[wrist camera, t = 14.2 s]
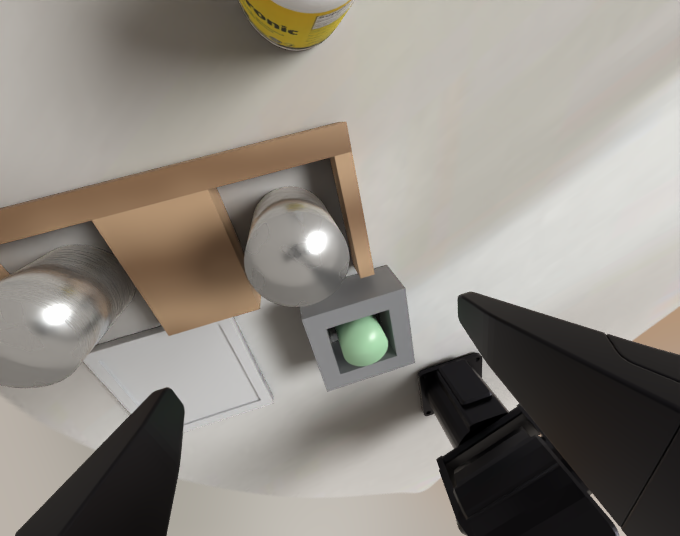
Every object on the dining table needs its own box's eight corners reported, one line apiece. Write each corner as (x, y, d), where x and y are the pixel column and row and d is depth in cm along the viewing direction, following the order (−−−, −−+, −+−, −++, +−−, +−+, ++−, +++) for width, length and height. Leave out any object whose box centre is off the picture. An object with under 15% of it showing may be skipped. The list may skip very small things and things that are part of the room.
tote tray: (273, 395, 26) (273, 403, 25) (159, 432, 25) (156, 441, 24) (228, 306, 21) (226, 312, 20) (85, 348, 20) (78, 356, 19)
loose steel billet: (336, 247, 21) (357, 290, 15) (267, 267, 20) (265, 318, 15) (318, 177, 18) (337, 198, 13) (240, 198, 18) (226, 229, 12)
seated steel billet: (150, 302, 19) (104, 368, 14) (74, 324, 19) (-2, 400, 14) (106, 234, 17) (31, 284, 12) (18, 258, 17) (-100, 320, 11)
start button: (377, 331, 23) (390, 357, 21) (339, 343, 23) (348, 371, 20) (371, 299, 22) (384, 323, 19) (330, 312, 22) (338, 338, 19)
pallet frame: (366, 262, 21) (374, 274, 20) (60, 352, 20) (40, 374, 18) (338, 122, 17) (346, 121, 15) (-61, 223, 15) (-104, 236, 13)
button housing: (397, 333, 25) (415, 362, 22) (320, 358, 25) (327, 391, 22) (386, 265, 22) (405, 288, 19) (297, 291, 21) (301, 319, 18)
